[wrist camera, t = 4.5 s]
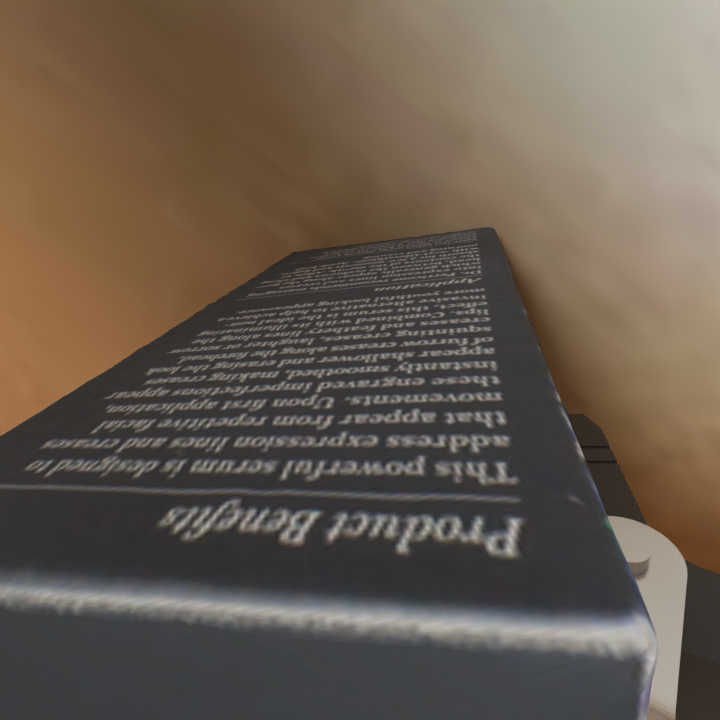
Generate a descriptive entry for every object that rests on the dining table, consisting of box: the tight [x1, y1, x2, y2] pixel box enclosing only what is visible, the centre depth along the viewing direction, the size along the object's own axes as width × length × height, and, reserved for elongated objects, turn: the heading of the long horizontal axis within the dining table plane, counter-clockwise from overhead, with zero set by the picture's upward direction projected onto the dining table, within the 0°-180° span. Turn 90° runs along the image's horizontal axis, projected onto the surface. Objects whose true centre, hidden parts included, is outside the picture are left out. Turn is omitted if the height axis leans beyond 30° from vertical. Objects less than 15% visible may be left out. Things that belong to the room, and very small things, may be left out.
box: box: [0, 228, 659, 720], centre depth 8 cm, size 8×6×11 cm
